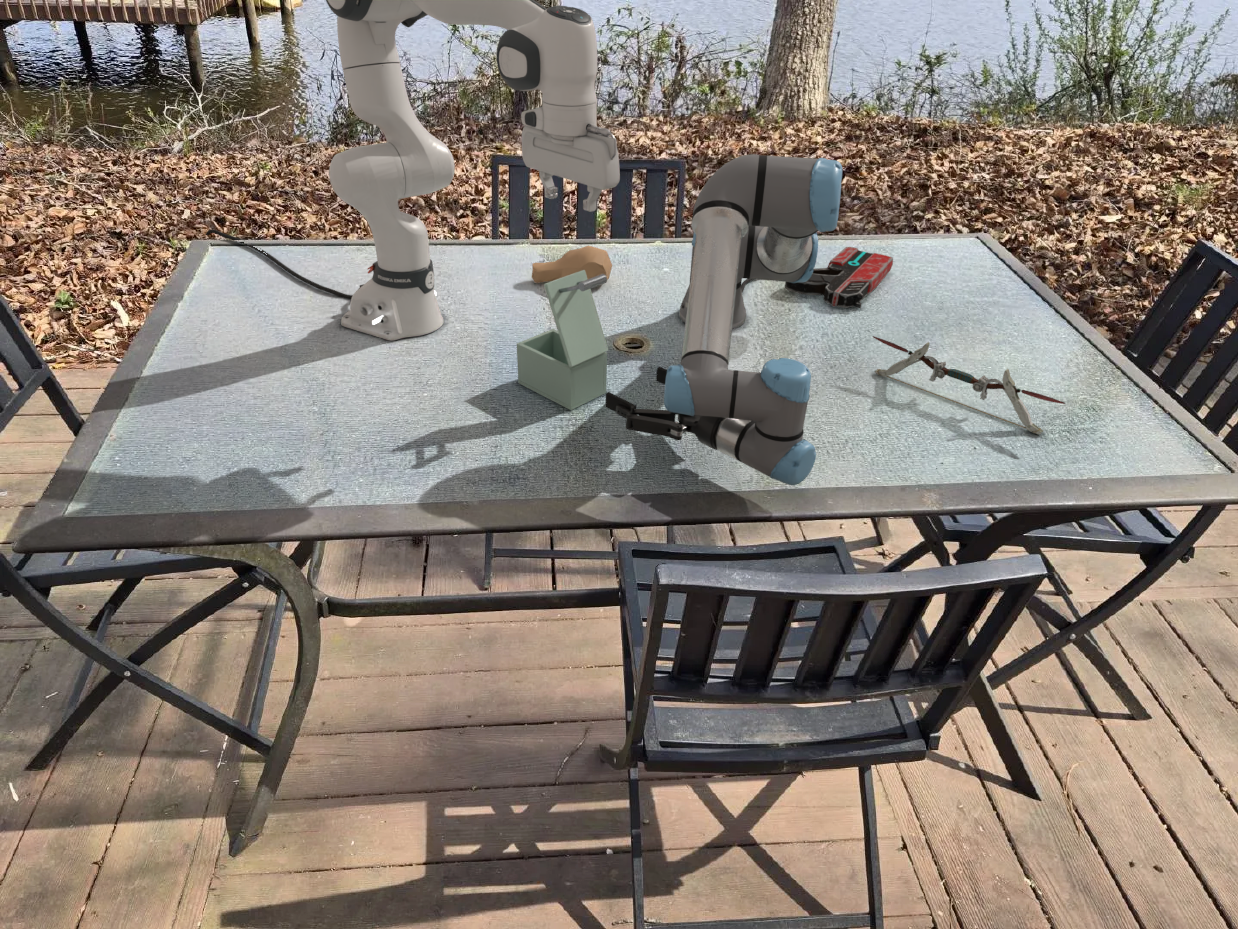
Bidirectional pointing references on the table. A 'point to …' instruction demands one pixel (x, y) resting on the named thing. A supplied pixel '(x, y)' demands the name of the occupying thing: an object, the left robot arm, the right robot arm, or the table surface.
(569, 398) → the chest
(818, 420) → the table surface
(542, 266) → the squash
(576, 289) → the lid
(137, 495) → the table surface
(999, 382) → the bow
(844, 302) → the gun
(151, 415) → the table surface
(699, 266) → the right robot arm
